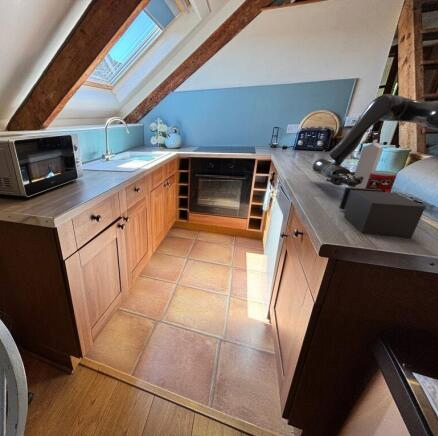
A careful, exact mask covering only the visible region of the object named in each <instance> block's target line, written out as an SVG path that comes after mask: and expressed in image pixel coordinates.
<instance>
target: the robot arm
mask: <svg viewBox="0 0 438 436" xmlns="http://www.w3.org/2000/svg"><path fill="white" fill-rule="evenodd" d="M379 121H382V122H383V121H384V122H403V123H404V122H405V123H413V124H415V125H420V126H422V127H425V128H428V129H432V130H435V131H436V130H437V131H438V100H437V101H436V100H435V101H425V100H424V101H423V100H417V99H412V98H408V97H405V96H400V95H396V94H390V93H385V94H381V95H378V96H377V97H375V98H374V99H373V100H372V101H371V102H370V103H369V104H368V106H367V107H366V108H365V110H364V111H363V112H362V114H361V115H360V116H359V117H358V119H357V120H356V121H355V123H354V124H353V126H352V127H351V129H349V131H348V132H347V134H346V135H345V136H343V138H342V139H341V140H340V141H339V142H338V143H337V144H336V145H335V146H334V147H333V148H332V149H331V151H329V153H328V154H329V157H330V158H331V159H332V160H333V161H331V160H329V159H326V158H318V159H316V160H315V161H314V162H313V164H312V170H313V172H315V173H317V174H319V175H321V176H323V177H324V178H325V179H326V180H325V181H326V182H329V183H331V184H333V185H334V186H343V185H344V186H347V187H349V188H354V187H355V186H356V185H358V184H361V183H362V181H363V178H364V177H362V176H361V177H357V178H356V177H355V176H354V174H352V172H351V170H350V169H348V168H346V167H345V166H342V164H343V163H344V162H345V160H346V159H347V158H348V157H349V156H350V155H351V154H352V153H354V151H355V150H357V149H358V147H359V145H360V144H361V142H362V141H363V138H364V136H365V135H366V133H367V132H368V131H369V129H370V128H371V127H372V126H374V125H375V124H376V123H378V122H379Z"/></svg>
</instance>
